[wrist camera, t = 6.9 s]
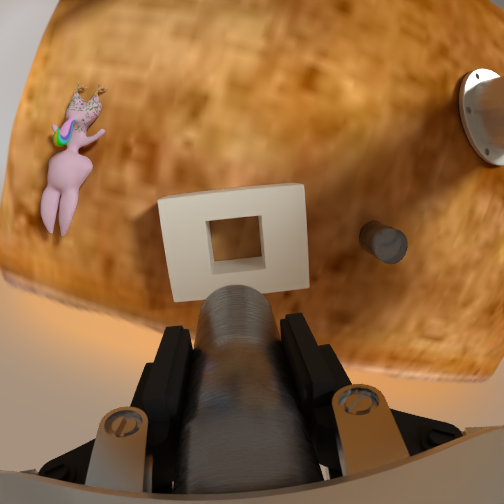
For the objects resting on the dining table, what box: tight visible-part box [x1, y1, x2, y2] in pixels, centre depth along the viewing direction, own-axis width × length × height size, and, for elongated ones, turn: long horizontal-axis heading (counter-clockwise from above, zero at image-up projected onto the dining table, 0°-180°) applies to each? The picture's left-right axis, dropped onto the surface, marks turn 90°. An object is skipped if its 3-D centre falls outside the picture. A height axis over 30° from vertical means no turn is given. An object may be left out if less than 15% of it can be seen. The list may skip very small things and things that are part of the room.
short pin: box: [359, 221, 407, 264], centre depth 29 cm, size 3×3×4 cm
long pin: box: [172, 285, 324, 494], centre depth 8 cm, size 3×3×11 cm
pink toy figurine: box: [41, 83, 107, 237], centre depth 24 cm, size 6×6×15 cm
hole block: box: [157, 183, 309, 302], centre depth 28 cm, size 12×9×4 cm
